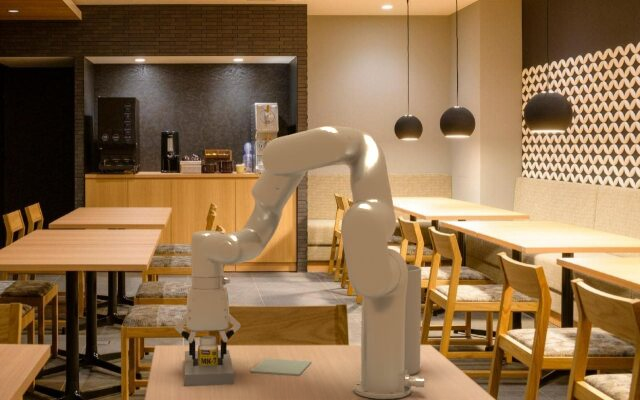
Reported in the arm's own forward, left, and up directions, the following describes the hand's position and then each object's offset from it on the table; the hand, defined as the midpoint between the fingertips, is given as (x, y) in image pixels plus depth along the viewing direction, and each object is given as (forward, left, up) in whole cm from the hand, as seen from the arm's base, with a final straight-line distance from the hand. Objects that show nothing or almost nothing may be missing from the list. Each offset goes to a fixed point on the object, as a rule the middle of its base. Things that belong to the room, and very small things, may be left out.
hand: (208, 357), depth 202 cm
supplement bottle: (0, 0, -4) cm, 4 cm away
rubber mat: (-16, -8, -4) cm, 18 cm away
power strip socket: (0, 0, -4) cm, 4 cm away
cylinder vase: (-43, -12, -4) cm, 45 cm away
